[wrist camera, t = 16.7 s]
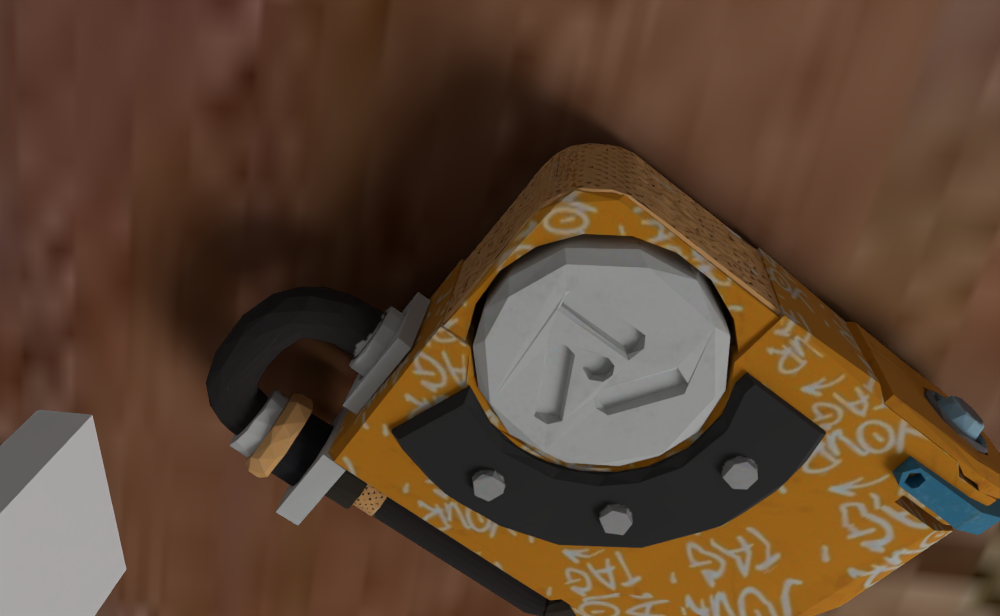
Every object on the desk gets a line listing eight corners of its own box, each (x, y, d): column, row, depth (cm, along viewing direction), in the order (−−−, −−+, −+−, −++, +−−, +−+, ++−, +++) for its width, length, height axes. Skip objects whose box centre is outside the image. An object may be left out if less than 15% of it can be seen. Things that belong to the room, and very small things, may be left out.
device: (673, 794, 42) (132, 465, 36) (663, 657, 50) (211, 364, 44) (1081, 527, 33) (434, 21, 27) (994, 405, 40) (471, -13, 34)
